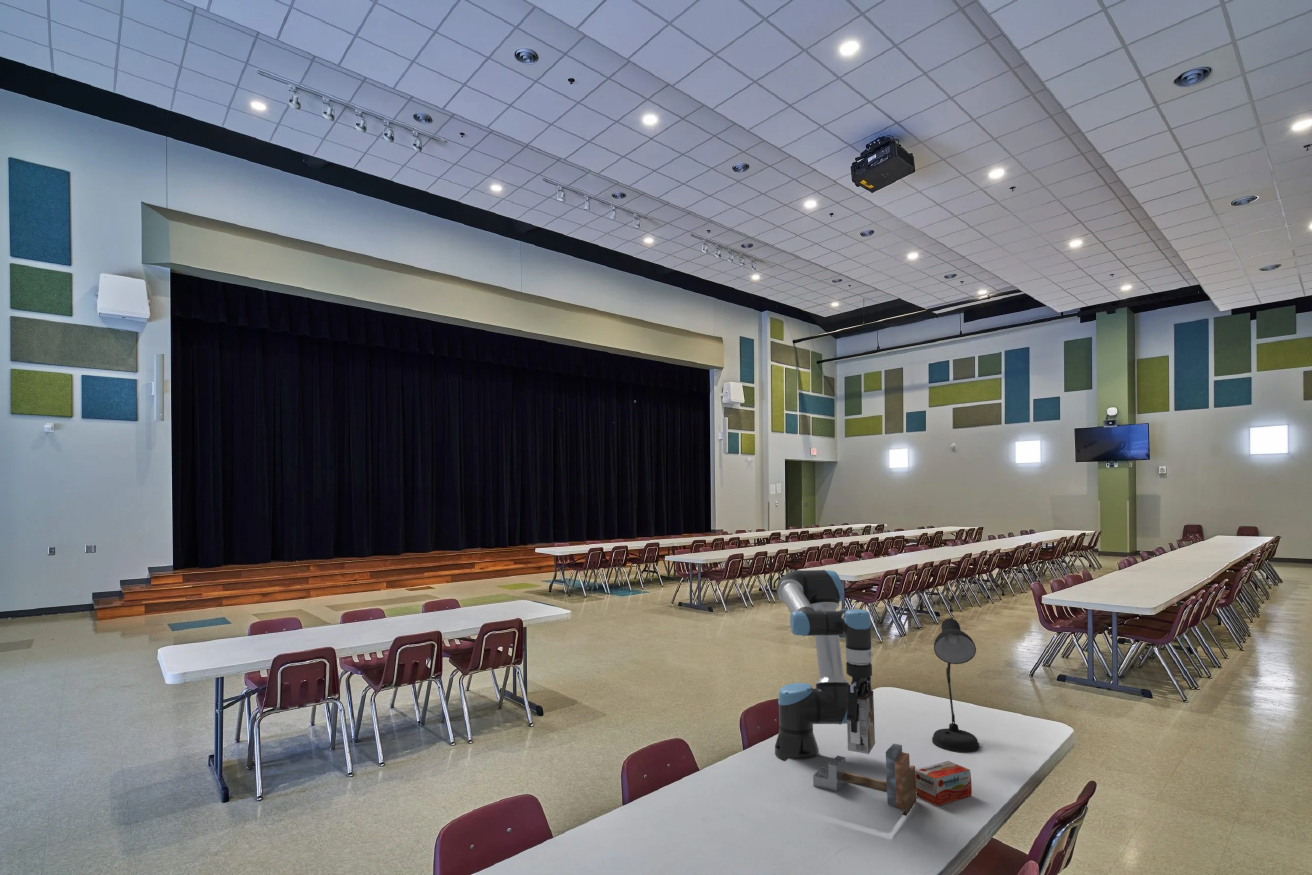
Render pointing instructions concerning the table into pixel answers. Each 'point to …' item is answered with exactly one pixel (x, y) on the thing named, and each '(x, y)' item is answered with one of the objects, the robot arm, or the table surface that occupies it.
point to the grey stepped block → (831, 775)
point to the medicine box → (943, 783)
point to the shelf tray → (883, 786)
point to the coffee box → (864, 724)
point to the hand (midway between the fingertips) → (861, 737)
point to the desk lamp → (952, 650)
